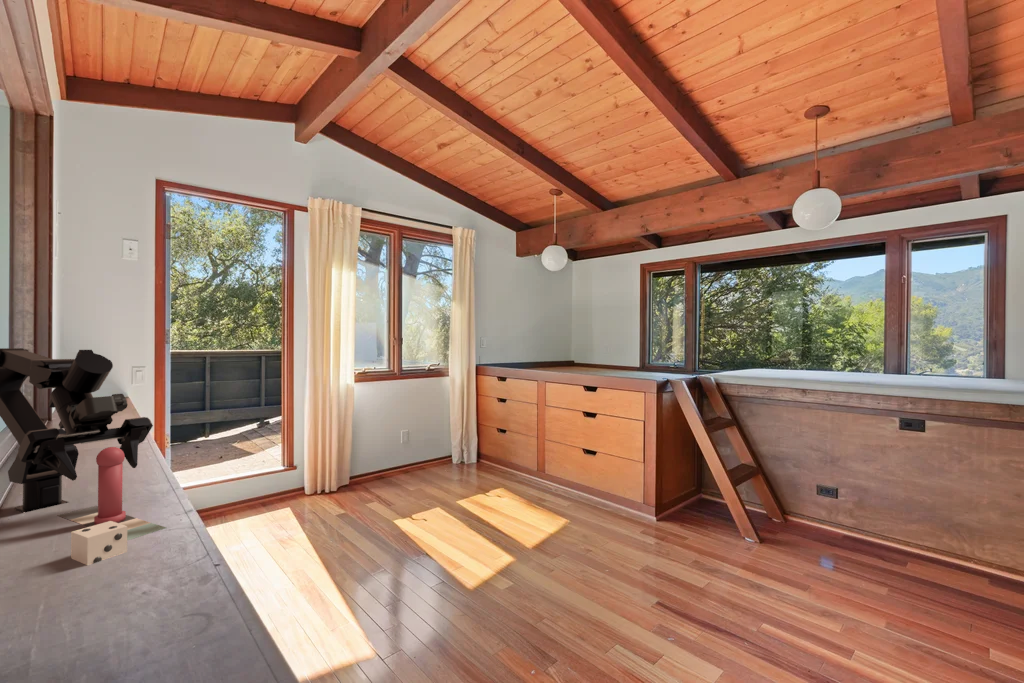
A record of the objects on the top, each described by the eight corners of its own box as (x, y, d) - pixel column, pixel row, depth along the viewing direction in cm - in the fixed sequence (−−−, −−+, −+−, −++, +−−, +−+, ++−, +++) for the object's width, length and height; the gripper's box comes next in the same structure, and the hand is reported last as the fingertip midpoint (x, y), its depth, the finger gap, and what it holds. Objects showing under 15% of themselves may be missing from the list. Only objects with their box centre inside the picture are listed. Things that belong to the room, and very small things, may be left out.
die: (71, 564, 72) (71, 531, 72) (110, 551, 76) (110, 520, 76) (87, 571, 70) (87, 537, 70) (127, 558, 74) (127, 525, 74)
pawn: (89, 523, 86) (89, 448, 86) (118, 515, 90) (118, 443, 90) (101, 527, 84) (102, 450, 84) (130, 519, 88) (131, 446, 88)
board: (54, 521, 89) (54, 516, 89) (98, 510, 95) (98, 505, 95) (124, 547, 78) (124, 541, 78) (169, 532, 84) (169, 526, 84)
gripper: (25, 385, 82) (55, 455, 77) (147, 378, 98) (178, 435, 93) (6, 427, 85) (33, 497, 80) (127, 413, 102) (156, 470, 97)
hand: (106, 472), depth 87 cm, fingers open, 9 cm apart
